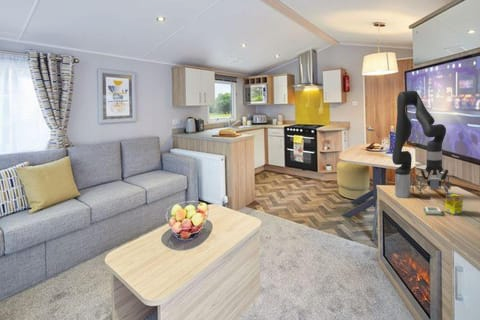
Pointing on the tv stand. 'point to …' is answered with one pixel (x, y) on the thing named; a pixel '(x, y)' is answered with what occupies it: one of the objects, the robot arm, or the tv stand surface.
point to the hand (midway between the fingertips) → (433, 185)
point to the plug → (434, 183)
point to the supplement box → (454, 204)
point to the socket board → (433, 211)
